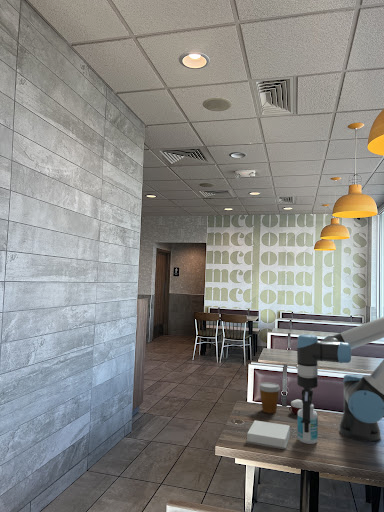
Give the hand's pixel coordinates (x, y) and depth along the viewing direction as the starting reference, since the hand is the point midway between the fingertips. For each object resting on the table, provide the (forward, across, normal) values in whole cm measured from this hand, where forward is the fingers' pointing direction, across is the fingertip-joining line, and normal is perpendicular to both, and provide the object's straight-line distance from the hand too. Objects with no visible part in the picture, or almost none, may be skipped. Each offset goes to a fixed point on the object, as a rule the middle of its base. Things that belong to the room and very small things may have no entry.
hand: (307, 436), depth 144 cm
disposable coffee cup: (+2, -27, -19) cm, 33 cm away
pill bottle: (+2, 0, 0) cm, 2 cm away
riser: (+2, +4, -14) cm, 15 cm away
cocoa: (+2, -29, -6) cm, 30 cm away
